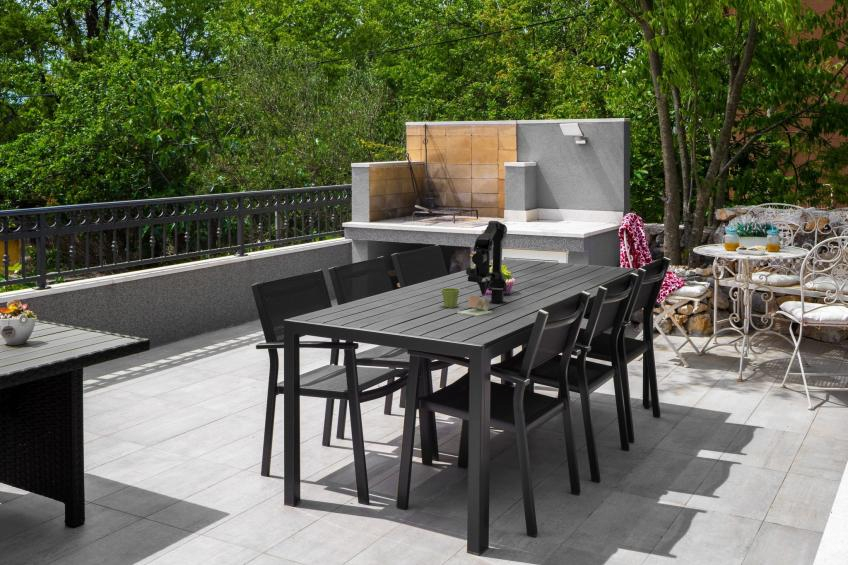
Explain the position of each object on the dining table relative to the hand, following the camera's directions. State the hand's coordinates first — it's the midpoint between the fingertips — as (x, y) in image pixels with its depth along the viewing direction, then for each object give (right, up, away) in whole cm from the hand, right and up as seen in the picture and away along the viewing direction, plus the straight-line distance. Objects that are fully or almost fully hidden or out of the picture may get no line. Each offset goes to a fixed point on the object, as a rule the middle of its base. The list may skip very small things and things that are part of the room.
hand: (483, 295), depth 454 cm
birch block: (+1, -5, +2) cm, 5 cm away
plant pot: (-15, -6, +12) cm, 21 cm away
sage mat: (-4, -8, -4) cm, 10 cm away
